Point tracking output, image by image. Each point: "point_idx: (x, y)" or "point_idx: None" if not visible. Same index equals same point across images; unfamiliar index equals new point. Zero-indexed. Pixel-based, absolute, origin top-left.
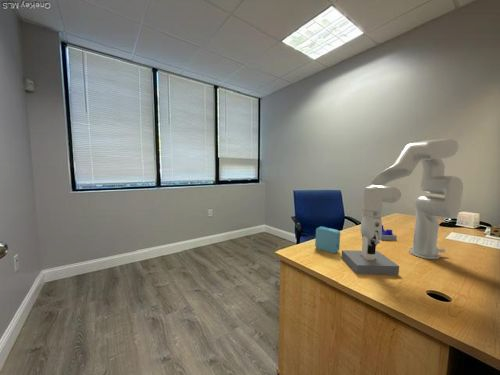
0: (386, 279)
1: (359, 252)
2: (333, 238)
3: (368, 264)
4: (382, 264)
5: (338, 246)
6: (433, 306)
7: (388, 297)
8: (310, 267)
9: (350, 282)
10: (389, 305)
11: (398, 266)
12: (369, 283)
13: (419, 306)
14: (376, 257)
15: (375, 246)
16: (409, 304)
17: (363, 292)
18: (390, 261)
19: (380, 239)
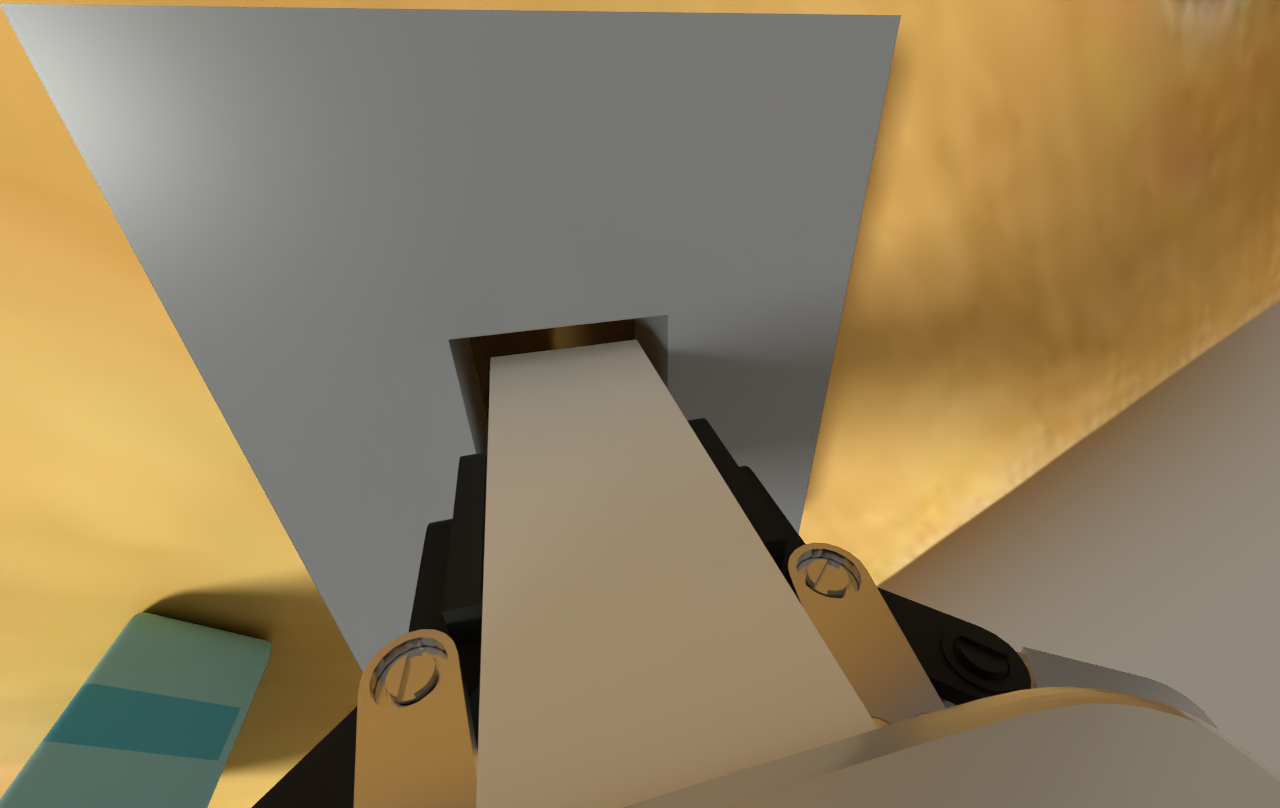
0: (866, 283)
1: (369, 490)
2: None
3: (786, 477)
4: (804, 304)
5: (141, 694)
6: (1268, 105)
7: (1050, 393)
8: None
9: None
10: (1097, 421)
11: (890, 34)
12: (887, 454)
13: (1202, 232)
14: (548, 280)
15: (775, 527)
16: (1155, 292)
17: (959, 515)
18: (709, 72)
19: (1172, 725)
